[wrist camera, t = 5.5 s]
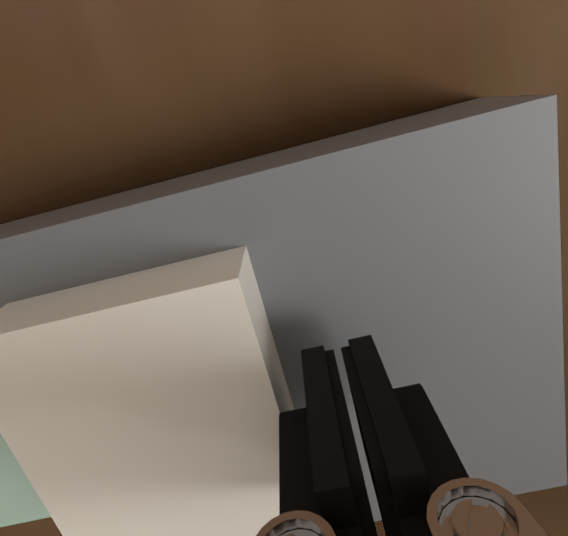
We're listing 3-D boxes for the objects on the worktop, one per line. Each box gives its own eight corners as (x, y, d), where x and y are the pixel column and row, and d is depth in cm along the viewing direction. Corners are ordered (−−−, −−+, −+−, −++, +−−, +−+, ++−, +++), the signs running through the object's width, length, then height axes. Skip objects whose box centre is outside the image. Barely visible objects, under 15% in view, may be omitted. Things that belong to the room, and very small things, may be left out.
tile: (245, 245, 10) (237, 278, 8) (319, 495, 13) (326, 563, 11) (7, 303, 10) (-53, 346, 9) (128, 532, 13) (103, 603, 11)
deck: (481, 97, 12) (556, 94, 9) (508, 406, 16) (567, 484, 13) (-6, 226, 13) (-98, 265, 10) (127, 485, 17) (91, 575, 14)
